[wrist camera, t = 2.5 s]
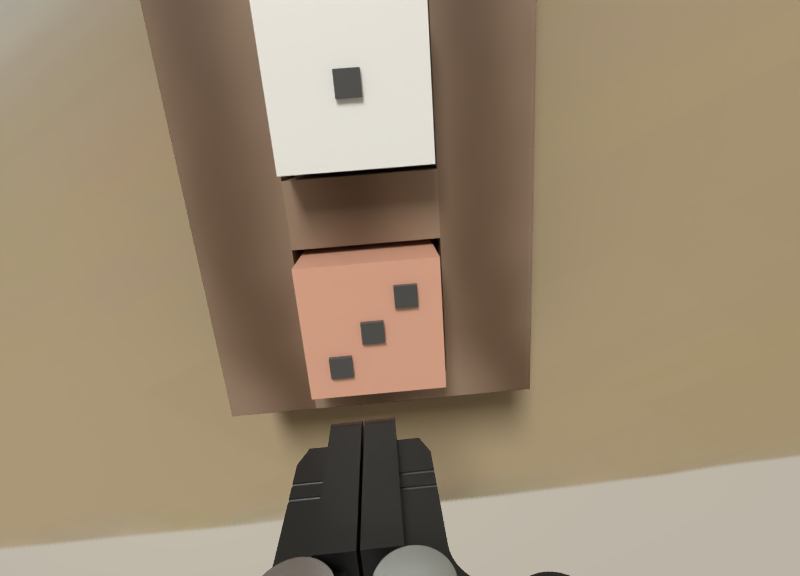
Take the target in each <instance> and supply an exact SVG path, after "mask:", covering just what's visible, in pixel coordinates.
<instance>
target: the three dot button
mask: <svg viewBox="0 0 800 576" xmlns="http://www.w3.org/2000/svg"><path fill="white" fill-rule="evenodd" d="M291 270H292V276H293V283H294V289H295V296H296V302H297V308H298V315H299V321H300V328H301V334H302V340H303V347H304V353H305V360H306V366H307V372H308V379H309V385H310V392H311V398H312V400H313V399H324V398H335V397H345V396H356V395H367V394H378V393H389V392H400V391H411V390H422V389H433V388H443V387H446V373H445V352H444V332H443V311H442V291H441V270H440V256H439V255H438V253H437V251H436V249H435V247H434V246H433V244H432V242H431V240H430V239H422V240H410V241H398V242H386V243H374V244H362V245H350V246H339V247H327V248H315V249H305V251H304V252H303V253H302V255H301V256H300V258H299V259H298V261H297V262H296V264H295V265H294V267H293V268H292V269H291Z"/></svg>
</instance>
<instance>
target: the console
mask: <svg viewBox="0 0 800 576" xmlns="http://www.w3.org/2000/svg"><path fill="white" fill-rule="evenodd" d="M140 2H141V7H142V11H143V16H144V20H145V25H146V29H147V34H148V38H149V43H150V47H151V52H152V56H153V61H154V65H155V70H156V74H157V79H158V83H159V88H160V92H161V97H162V101H163V106H164V110H165V115H166V119H167V124H168V128H169V133H170V137H171V142H172V146H173V151H174V155H175V160H176V164H177V169H178V173H179V178H180V182H181V187H182V191H183V196H184V200H185V205H186V209H187V214H188V218H189V223H190V227H191V232H192V236H193V241H194V245H195V250H196V254H197V259H198V263H199V268H200V272H201V277H202V281H203V285H204V290H205V294H206V299H207V303H208V308H209V312H210V317H211V321H212V326H213V330H214V335H215V339H216V344H217V348H218V353H219V357H220V362H221V366H222V371H223V375H224V380H225V384H226V389H227V393H228V398H229V402H230V407H231V411H232V416H241V415H252V414H263V413H273V412H284V411H295V410H306V409H317V408H328V407H338V406H349V405H360V404H371V403H382V402H393V401H403V400H414V399H425V398H436V397H447V396H458V395H468V394H479V393H490V392H501V391H512V390H523V389H530V341H531V283H532V225H533V167H534V108H535V50H536V0H427V3H428V24H429V44H430V65H431V85H432V106H433V126H434V147H435V164H428V165H415V166H403V167H390V168H378V169H366V170H353V171H341V172H328V173H316V174H303V175H291V176H278V177H277V174H276V168H275V161H274V155H273V148H272V142H271V136H270V129H269V123H268V117H267V110H266V104H265V97H264V91H263V85H262V78H261V72H260V65H259V59H258V53H257V46H256V40H255V33H254V27H253V21H252V14H251V8H250V1H249V0H140ZM422 239H430V240H431V242H432V244H433V246H434V247H435V249H436V251H437V253H438V255H439V256H440V270H441V291H442V311H443V332H444V352H445V373H446V387H443V388H433V389H422V390H411V391H400V392H389V393H378V394H367V395H356V396H345V397H335V398H324V399H313V400H312V398H311V392H310V385H309V379H308V372H307V366H306V360H305V353H304V347H303V340H302V334H301V328H300V321H299V315H298V308H297V302H296V296H295V289H294V283H293V276H292V270H291V269H292V268H293V267H294V265H295V264H296V262H297V261H298V259H299V258H300V256H301V255H302V253H303V252H304V251H305V249H315V248H327V247H339V246H350V245H362V244H374V243H386V242H398V241H410V240H422Z"/></svg>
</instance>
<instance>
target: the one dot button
mask: <svg viewBox="0 0 800 576" xmlns="http://www.w3.org/2000/svg"><path fill="white" fill-rule="evenodd" d="M249 1H250V8H251V14H252V21H253V27H254V33H255V40H256V46H257V53H258V59H259V65H260V72H261V78H262V85H263V91H264V97H265V104H266V110H267V117H268V123H269V129H270V136H271V142H272V148H273V155H274V161H275V168H276V174H277V177H278V176H291V175H303V174H316V173H328V172H341V171H353V170H366V169H378V168H390V167H403V166H415V165H428V164H435V147H434V126H433V106H432V85H431V65H430V44H429V24H428V3H427V0H249Z"/></svg>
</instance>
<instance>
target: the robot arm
mask: <svg viewBox="0 0 800 576" xmlns="http://www.w3.org/2000/svg"><path fill="white" fill-rule="evenodd" d="M263 576H469V575H468V574H467V573H465V572H464V571H463V570H462V569H461V568H460V567H459V566H458V565H457V564H456V562H455V561H454V559H453V558H452V556H451V553H450V551H449V547H448V543H447V538H446V532H445V527H444V521H443V516H442V511H441V505H440V500H439V494H438V489H437V484H436V478H435V473H434V467H433V462H432V457H431V452H430V450H429V449H428V448H427V447H426V446H425V445H424V443H423V442H422V441H421V440H420V439H419V438H414V439H403V440H397V437H396V426H395V418H391V419H381V420H370V421H365V423H364V426H363V422H362V421H361V422H351V423H341V424H332V425H331V430H330V437H329V443H328V447H323V448H313V449H309V451H308V452H307V453H306V454H305V456H304V457H303V458H302V460H301V461H300V462H299V463H298V465H297V468H296V472H295V476H294V480H293V487H292V489H291V493H290V497H289V503H288V505H287V510H286V514H285V518H284V522H283V526H282V531H281V535H280V539H279V543H278V547H277V551H276V556H275V560H274V564H273V567H272V568H271V569H270V570H268V571H267V572H266V573H265V574H264V575H263ZM531 576H569V575H566V574H562V573H557V572H542V573H537V574H534V575H531Z"/></svg>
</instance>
